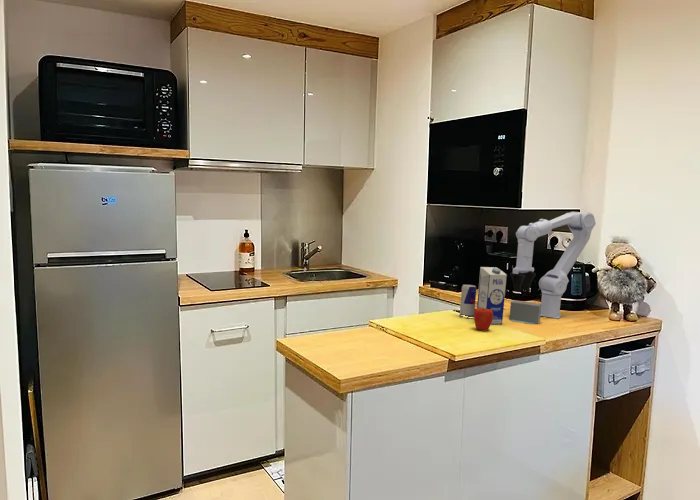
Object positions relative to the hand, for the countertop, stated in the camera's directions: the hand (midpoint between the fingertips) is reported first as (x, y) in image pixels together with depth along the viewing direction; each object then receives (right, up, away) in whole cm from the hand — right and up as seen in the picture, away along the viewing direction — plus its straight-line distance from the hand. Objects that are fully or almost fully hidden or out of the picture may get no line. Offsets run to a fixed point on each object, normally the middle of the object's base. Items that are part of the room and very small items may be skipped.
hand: (521, 291), depth 204 cm
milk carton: (-17, -10, -14) cm, 24 cm away
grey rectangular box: (-1, -11, -8) cm, 13 cm away
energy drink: (-23, -9, -8) cm, 26 cm away
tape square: (-2, -11, -8) cm, 13 cm away
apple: (-22, -11, -27) cm, 37 cm away
